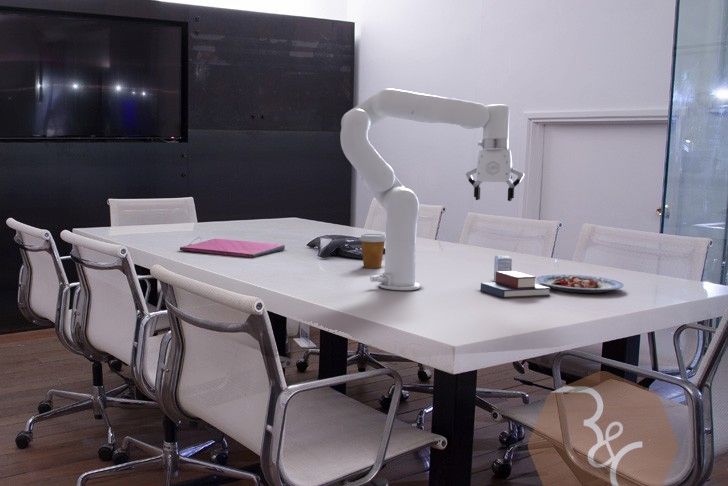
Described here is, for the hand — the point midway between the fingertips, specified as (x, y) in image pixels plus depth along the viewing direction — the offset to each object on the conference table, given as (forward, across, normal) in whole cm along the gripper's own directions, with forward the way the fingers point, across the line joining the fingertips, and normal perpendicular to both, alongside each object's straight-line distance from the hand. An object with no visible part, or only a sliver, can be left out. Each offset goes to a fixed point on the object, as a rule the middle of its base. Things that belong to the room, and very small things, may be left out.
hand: (493, 200), depth 239 cm
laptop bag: (+27, -115, +32) cm, 122 cm away
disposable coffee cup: (+28, -47, +22) cm, 59 cm away
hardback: (+28, +8, -4) cm, 30 cm away
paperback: (+26, +8, -4) cm, 27 cm away
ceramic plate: (+28, +24, +15) cm, 40 cm away
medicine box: (+28, +1, +13) cm, 31 cm away
